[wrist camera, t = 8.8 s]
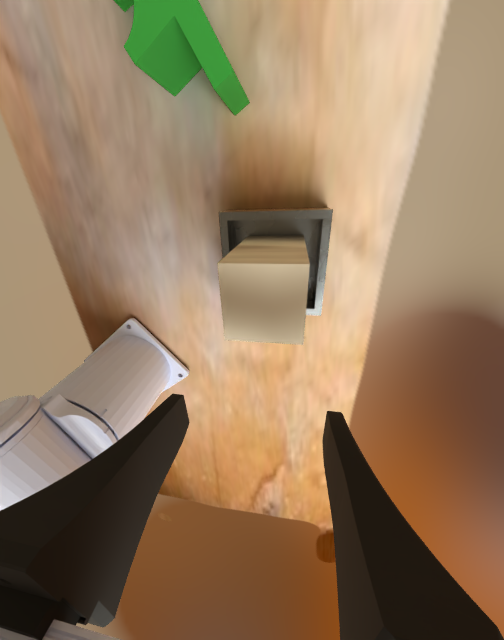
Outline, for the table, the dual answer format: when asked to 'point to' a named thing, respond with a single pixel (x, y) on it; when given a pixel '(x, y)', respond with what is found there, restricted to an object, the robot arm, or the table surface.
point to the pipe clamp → (180, 48)
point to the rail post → (265, 290)
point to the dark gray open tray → (285, 224)
